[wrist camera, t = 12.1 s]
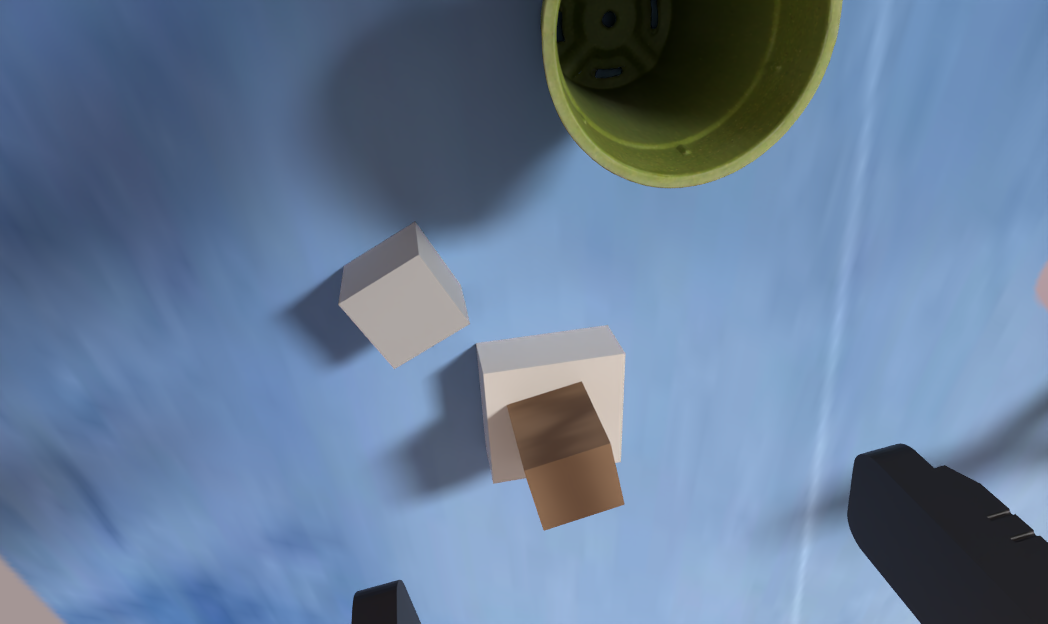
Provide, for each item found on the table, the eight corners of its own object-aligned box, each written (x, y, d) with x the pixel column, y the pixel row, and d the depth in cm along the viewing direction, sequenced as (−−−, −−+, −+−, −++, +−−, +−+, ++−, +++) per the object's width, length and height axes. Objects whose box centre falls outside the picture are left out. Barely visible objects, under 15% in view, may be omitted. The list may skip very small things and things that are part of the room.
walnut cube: (581, 381, 39) (610, 443, 34) (595, 438, 42) (624, 504, 37) (506, 404, 39) (523, 470, 34) (524, 461, 42) (543, 530, 37)
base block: (606, 322, 43) (625, 353, 39) (603, 425, 47) (620, 461, 43) (475, 340, 41) (483, 373, 38) (485, 444, 46) (493, 483, 42)
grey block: (415, 221, 36) (418, 254, 32) (460, 284, 39) (470, 323, 34) (343, 265, 37) (338, 304, 32) (393, 325, 39) (394, 369, 35)
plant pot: (743, 48, 35) (879, 77, 25) (568, 169, 36) (633, 241, 27) (654, -178, 29) (786, -253, 20) (449, -23, 31) (477, -21, 21)
